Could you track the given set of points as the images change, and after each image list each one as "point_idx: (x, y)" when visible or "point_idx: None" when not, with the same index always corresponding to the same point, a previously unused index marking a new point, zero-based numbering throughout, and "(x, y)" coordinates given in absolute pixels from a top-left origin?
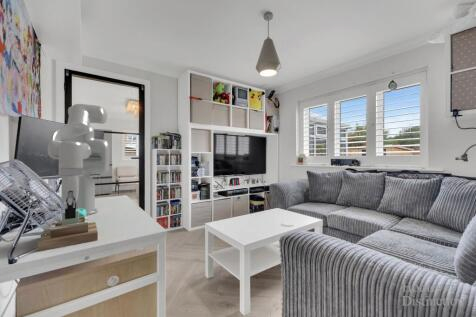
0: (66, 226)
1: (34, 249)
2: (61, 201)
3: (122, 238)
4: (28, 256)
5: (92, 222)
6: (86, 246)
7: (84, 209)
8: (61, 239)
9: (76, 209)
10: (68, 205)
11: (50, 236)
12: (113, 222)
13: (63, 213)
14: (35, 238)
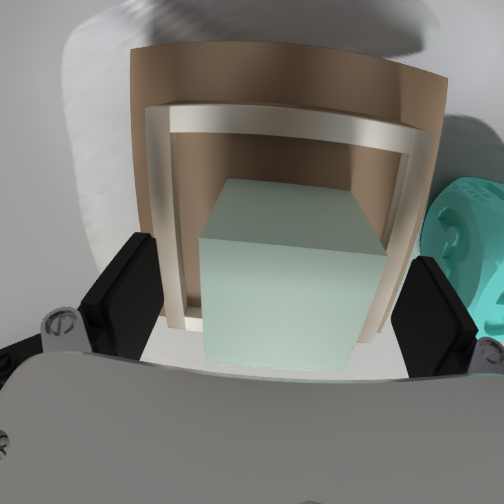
0: (153, 210)
1: (197, 29)
2: (26, 362)
3: (144, 349)
4: (107, 32)
5: (384, 321)
6: (108, 244)
7: (498, 340)
8: (136, 159)
9: (313, 357)
10: (12, 354)
11: (222, 95)
12: (400, 365)
13: (199, 245)
14: (422, 37)
